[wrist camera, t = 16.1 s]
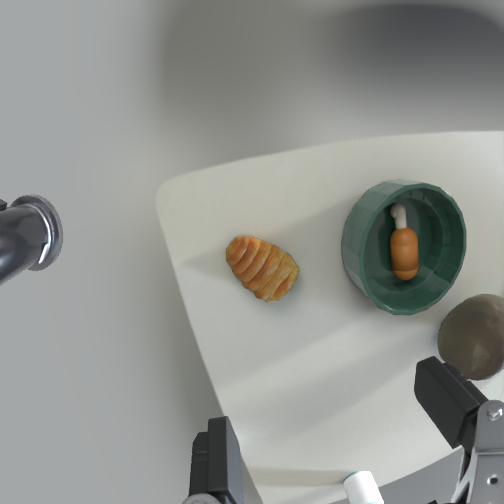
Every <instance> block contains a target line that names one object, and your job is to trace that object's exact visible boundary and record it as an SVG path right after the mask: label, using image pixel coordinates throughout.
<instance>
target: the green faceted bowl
mask: <svg viewBox="0 0 504 504" xmlns="http://www.w3.org/2000/svg"><path fill="white" fill-rule="evenodd" d="M396 203H399V204H402V205H403V206H404V207H405V210H406V222H407V227H409V228H411V229H412V230H413V231H414V232H415V233H416V235H417V238H418V254H419V269H418V272H417V274H416V275H415V276H414V277H413V278H412V279H409V280H401V279H399V278H397V277H396V276H395V274H394V273H393V270H392V262H391V248H390V237H391V234H392V233H393V231H394V230H395V229H396V225H395V219H394V218H393V217H392V216H391V213H390V209H391V207H392V206H393V205H394V204H396ZM465 252H466V227H465V223H464V219H463V215H462V212H461V210H460V209H459V207H458V205H457V204H456V202H455V200H454V199H453V197H451V196H450V195H449V194H448V193H446V192H445V191H444V190H443V189H441V188H440V187H437V186H434V185H430V184H427V183H422V182H415V181H407V180H393V181H386V182H383V183H381V184H379V185H377V186H375V187H373V188H372V189H370V190H368V191H367V192H366V193H365V194H364V195H363V196H362V197H361V199H360V200H359V201H358V202H357V203H356V204H355V205H354V207H353V209H352V211H351V213H350V215H349V217H348V219H347V221H346V224H345V228H344V233H343V238H342V254H343V263H344V265H345V268H346V270H347V272H348V275H349V277H350V279H351V280H352V281H353V282H354V283H355V284H356V286H357V287H358V288H359V289H360V290H361V291H362V292H363V293H364V294H365V295H366V296H367V297H368V298H369V299H370V300H371V301H372V302H373V303H374V304H375V305H376V306H377V307H378V308H380V309H382V310H384V311H386V312H389V313H391V314H393V315H412V314H415V313H418V312H421V311H424V310H426V309H428V308H429V307H431V306H432V305H434V304H435V303H436V302H438V301H439V300H440V299H441V298H442V297H443V296H444V295H445V294H446V293H447V292H448V290H449V289H450V288H451V287H452V285H453V284H454V282H455V280H456V278H457V276H458V274H459V272H460V270H461V268H462V264H463V260H464V256H465Z"/></svg>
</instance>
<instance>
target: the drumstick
mask: <svg viewBox="0 0 504 504" xmlns="http://www.w3.org/2000/svg"><path fill="white" fill-rule="evenodd" d="M390 213H391V216H392V217H393V218H394V219H395V225H396V229H395V230H394V231H393V233H392V234H391V237H390V248H391V262H392V270H393V273H394V274H395V276H396V277H397V278H399V279H401V280H409V279H412V278H413V277H414V276H415V275H416V274H417V272H418V269H419V254H418V238H417V235H416V233H415V232H414V231H413V230H412V229H411V228H409V227H407V222H406V210H405V207H404V206H403V205H402V204H399V203H396V204H394V205H393V206H392V207H391V209H390Z"/></svg>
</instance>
